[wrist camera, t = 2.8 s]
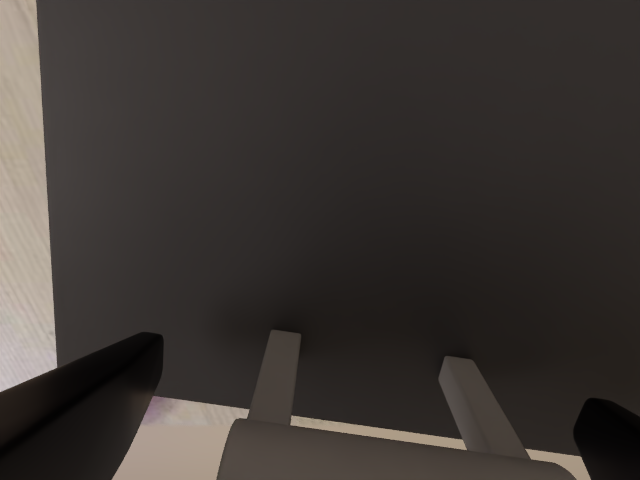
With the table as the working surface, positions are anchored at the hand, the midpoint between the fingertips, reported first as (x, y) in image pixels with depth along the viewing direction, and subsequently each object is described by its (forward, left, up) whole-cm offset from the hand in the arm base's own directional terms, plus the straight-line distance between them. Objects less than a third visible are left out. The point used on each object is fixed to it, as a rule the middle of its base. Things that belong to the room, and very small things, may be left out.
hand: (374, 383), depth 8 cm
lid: (+5, 0, -2) cm, 5 cm away
